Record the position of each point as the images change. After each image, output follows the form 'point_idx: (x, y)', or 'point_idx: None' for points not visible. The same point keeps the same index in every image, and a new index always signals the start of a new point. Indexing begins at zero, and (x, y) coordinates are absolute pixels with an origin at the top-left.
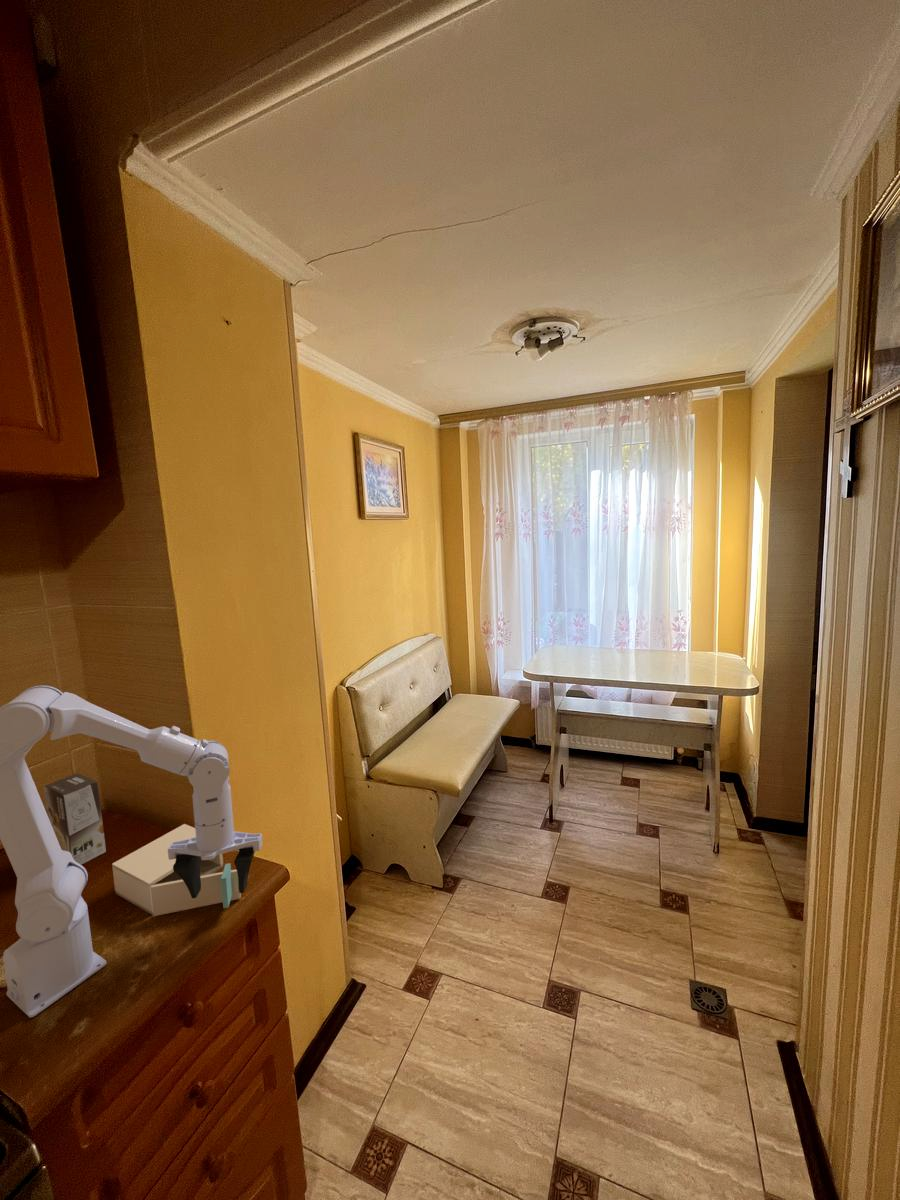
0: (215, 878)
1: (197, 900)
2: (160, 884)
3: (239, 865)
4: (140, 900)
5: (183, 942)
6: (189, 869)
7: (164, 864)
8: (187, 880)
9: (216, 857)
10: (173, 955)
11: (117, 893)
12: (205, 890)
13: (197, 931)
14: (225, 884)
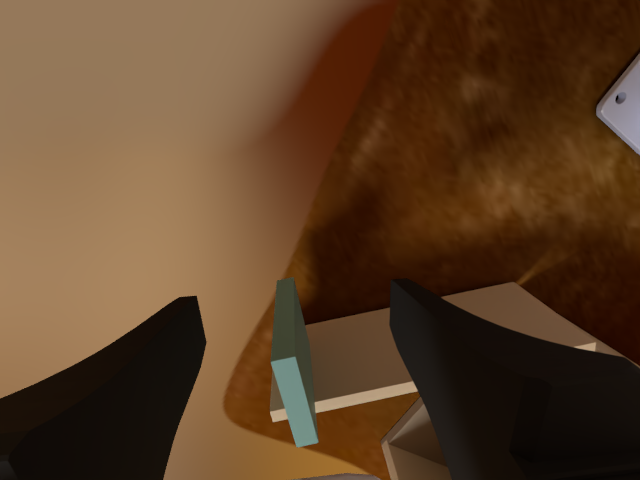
0: (355, 382)
1: None
2: None
3: (27, 411)
4: (576, 327)
5: (386, 178)
6: (490, 380)
7: None
8: (464, 322)
9: (407, 469)
10: (398, 127)
11: (633, 362)
12: (383, 344)
13: (359, 218)
14: (276, 337)
